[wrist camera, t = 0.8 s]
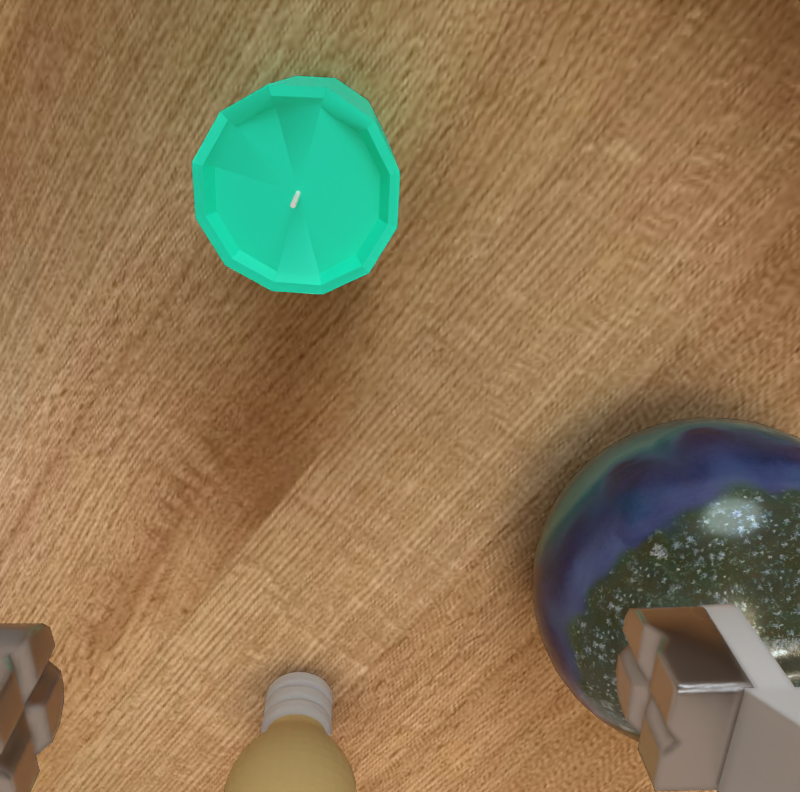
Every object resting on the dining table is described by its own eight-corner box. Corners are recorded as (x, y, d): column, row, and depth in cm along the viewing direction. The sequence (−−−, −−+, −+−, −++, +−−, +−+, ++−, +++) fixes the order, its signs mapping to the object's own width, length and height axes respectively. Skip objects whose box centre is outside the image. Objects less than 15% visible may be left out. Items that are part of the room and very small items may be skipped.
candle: (417, 158, 31) (451, 212, 20) (314, 255, 33) (293, 354, 22) (315, 39, 29) (292, 28, 18) (210, 148, 31) (129, 198, 20)
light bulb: (222, 705, 43) (186, 879, 34) (278, 628, 41) (255, 791, 32) (320, 745, 45) (310, 922, 36) (378, 673, 43) (383, 841, 34)
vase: (646, 315, 35) (802, 455, 23) (868, 473, 39) (1099, 663, 27) (450, 551, 40) (492, 771, 27) (666, 669, 44) (785, 905, 32)
